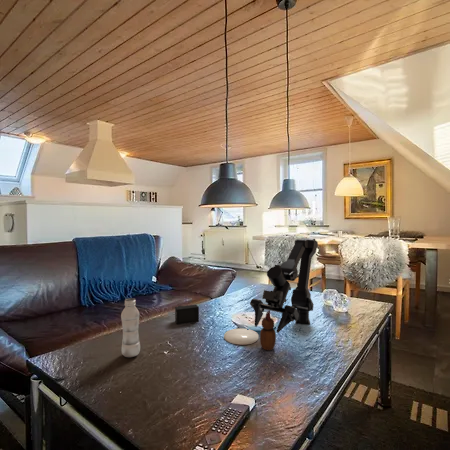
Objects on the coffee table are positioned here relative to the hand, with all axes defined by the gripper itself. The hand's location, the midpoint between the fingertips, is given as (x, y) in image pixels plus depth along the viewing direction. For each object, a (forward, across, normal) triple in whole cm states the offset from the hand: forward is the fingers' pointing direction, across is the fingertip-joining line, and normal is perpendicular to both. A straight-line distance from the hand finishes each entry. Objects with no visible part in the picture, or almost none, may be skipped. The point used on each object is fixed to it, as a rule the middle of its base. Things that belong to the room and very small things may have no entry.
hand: (266, 329), depth 110 cm
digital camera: (+3, -44, +8) cm, 45 cm away
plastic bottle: (+29, -37, -18) cm, 50 cm away
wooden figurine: (+5, 0, +6) cm, 8 cm away
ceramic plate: (+3, -13, +8) cm, 16 cm away
